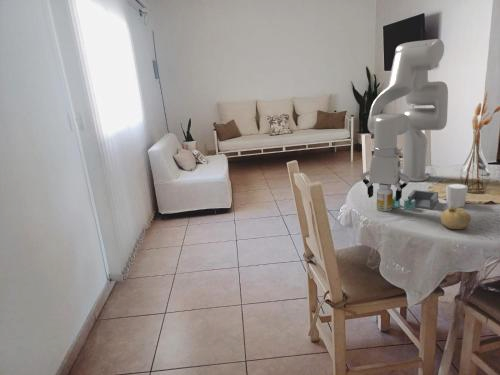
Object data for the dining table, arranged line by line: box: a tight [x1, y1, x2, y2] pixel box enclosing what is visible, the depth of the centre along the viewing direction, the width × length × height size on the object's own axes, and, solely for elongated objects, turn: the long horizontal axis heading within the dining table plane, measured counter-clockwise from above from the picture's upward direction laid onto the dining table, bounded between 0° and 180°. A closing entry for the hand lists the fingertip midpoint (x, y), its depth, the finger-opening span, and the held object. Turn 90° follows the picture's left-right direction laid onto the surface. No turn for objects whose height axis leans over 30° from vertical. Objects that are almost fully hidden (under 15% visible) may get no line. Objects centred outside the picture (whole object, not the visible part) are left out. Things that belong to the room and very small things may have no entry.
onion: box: [440, 206, 471, 230], centre depth 110 cm, size 8×8×7 cm
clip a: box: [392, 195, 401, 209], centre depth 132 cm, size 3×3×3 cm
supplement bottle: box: [376, 184, 394, 212], centre depth 129 cm, size 5×5×10 cm
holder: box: [407, 189, 439, 211], centre depth 131 cm, size 9×9×4 cm
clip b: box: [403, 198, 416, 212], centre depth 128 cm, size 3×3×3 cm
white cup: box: [445, 183, 469, 208], centre depth 127 cm, size 7×7×7 cm
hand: (384, 198), depth 129 cm, fingers open, 9 cm apart
